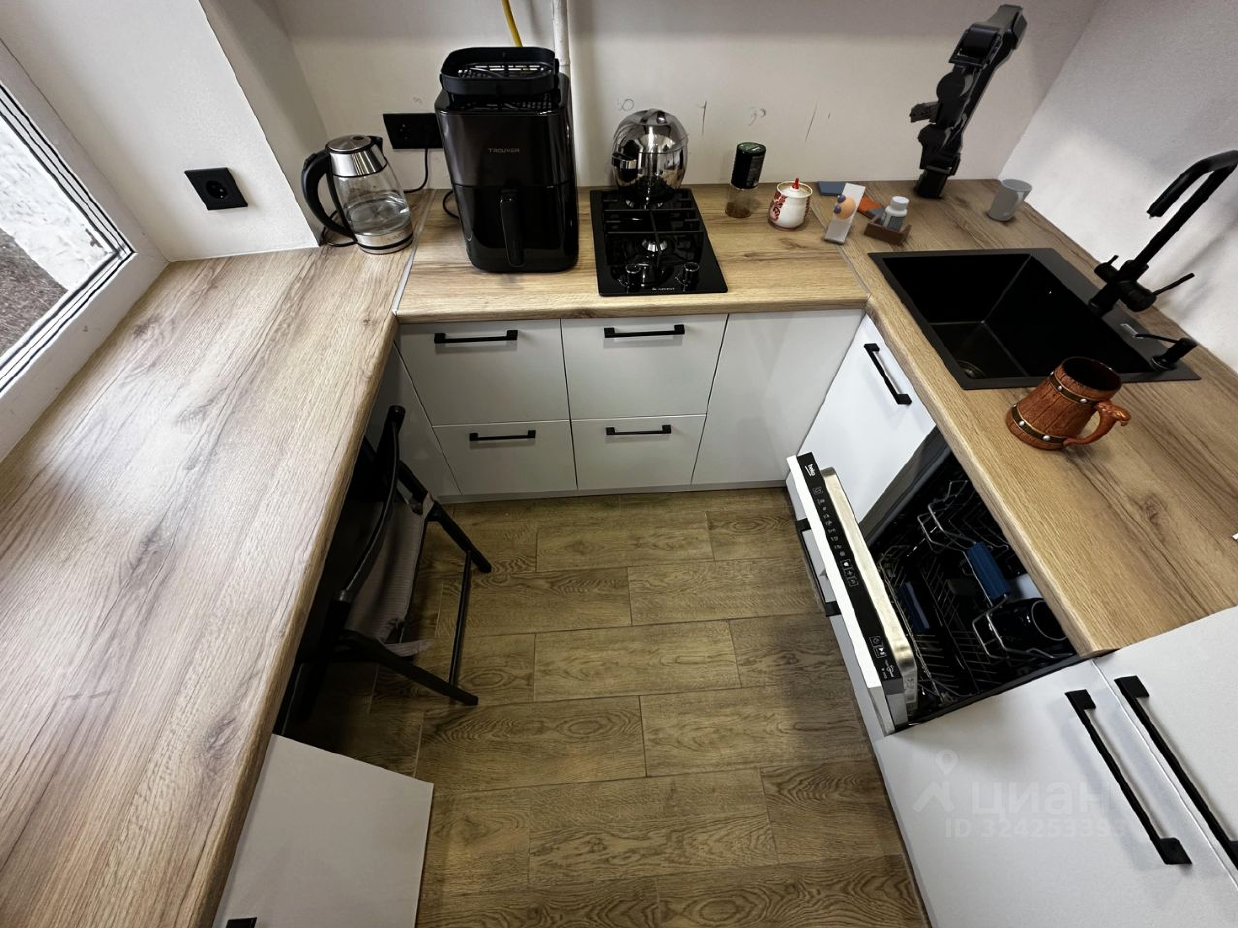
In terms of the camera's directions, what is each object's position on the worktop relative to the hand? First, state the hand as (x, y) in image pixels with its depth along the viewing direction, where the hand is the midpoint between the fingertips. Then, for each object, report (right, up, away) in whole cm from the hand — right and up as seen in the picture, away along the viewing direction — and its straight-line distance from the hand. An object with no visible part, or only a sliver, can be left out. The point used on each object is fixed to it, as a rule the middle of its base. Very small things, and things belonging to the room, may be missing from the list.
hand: (926, 164), depth 136 cm
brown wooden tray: (-9, -17, +2) cm, 20 cm away
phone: (-9, -8, +10) cm, 16 cm away
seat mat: (-15, +3, +19) cm, 24 cm away
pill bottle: (-9, -18, +2) cm, 20 cm away
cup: (+26, -10, +9) cm, 29 cm away
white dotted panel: (-23, -17, +2) cm, 28 cm away
